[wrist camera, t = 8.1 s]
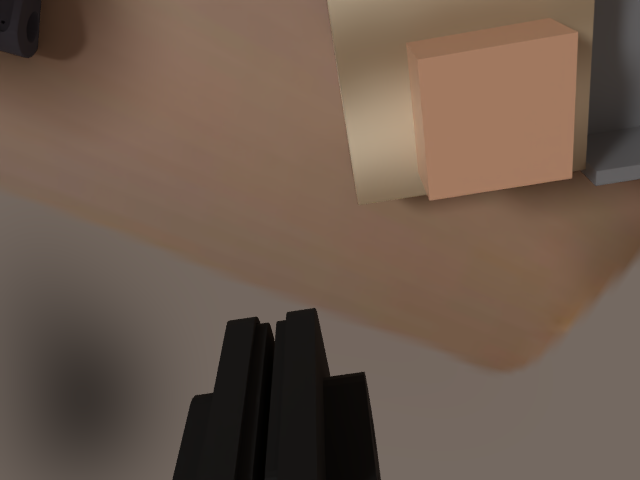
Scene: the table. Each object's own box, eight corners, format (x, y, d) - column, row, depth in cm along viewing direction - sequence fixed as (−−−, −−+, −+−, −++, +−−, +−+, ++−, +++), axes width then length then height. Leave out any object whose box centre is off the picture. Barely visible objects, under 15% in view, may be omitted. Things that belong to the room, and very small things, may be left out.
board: (300, -173, 21) (299, -182, 18) (568, -226, 20) (607, -244, 17) (353, 175, 27) (358, 205, 24) (557, 142, 26) (585, 169, 24)
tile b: (406, 42, 21) (417, 59, 19) (550, 17, 21) (578, 32, 19) (418, 172, 24) (429, 200, 22) (547, 152, 23) (571, 178, 21)
